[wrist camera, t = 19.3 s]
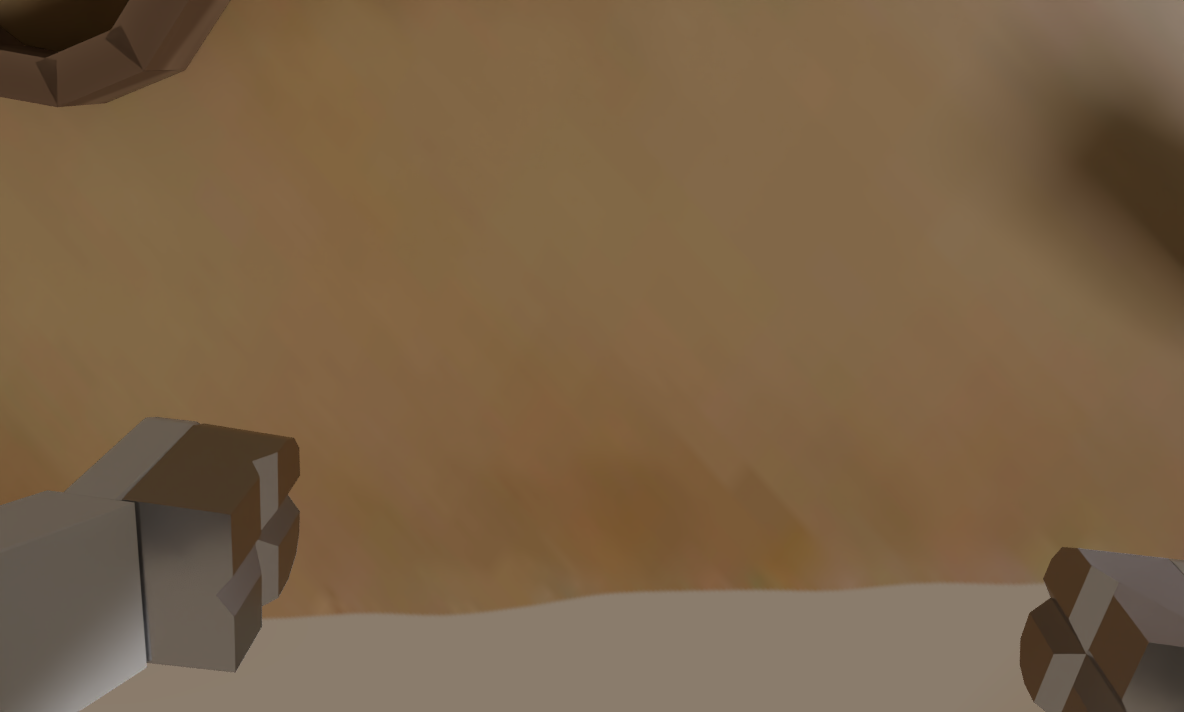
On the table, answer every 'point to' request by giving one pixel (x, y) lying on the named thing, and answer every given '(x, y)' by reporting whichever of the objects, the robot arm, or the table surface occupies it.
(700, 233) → the table surface
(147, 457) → the robot arm
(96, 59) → the walnut ring
